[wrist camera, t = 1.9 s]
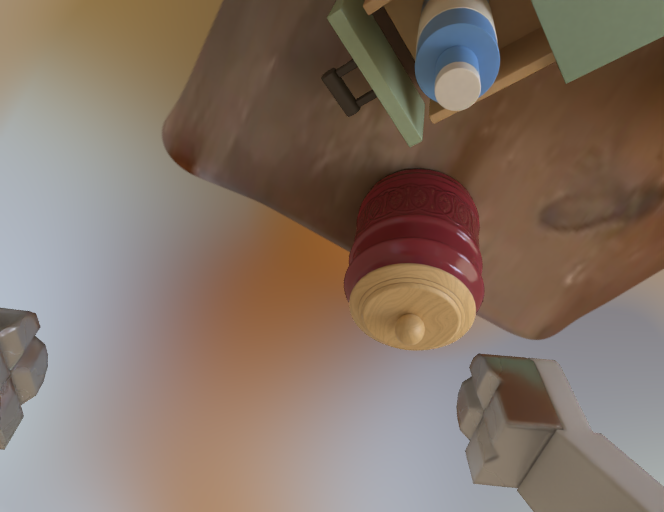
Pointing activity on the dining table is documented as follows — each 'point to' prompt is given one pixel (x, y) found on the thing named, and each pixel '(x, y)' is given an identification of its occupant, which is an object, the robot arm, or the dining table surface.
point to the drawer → (388, 73)
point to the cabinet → (597, 30)
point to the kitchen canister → (415, 261)
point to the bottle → (456, 51)
